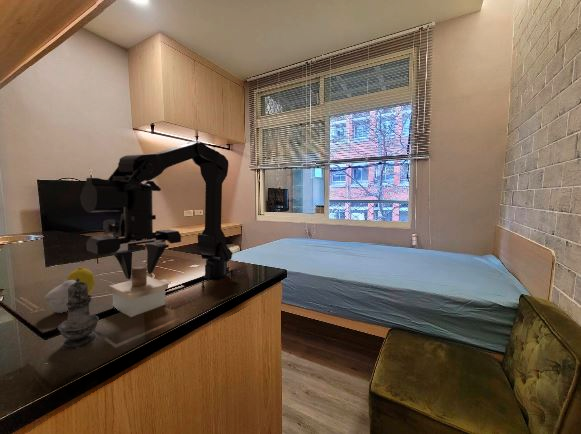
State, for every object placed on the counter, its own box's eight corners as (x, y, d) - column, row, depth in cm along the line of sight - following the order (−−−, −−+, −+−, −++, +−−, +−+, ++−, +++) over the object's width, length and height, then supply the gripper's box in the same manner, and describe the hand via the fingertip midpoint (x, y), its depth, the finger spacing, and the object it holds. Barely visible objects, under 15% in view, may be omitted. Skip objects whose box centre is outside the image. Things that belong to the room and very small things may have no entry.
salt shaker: (52, 353, 44) (49, 284, 43) (65, 335, 50) (63, 274, 48) (94, 346, 46) (92, 281, 45) (103, 330, 52) (101, 271, 51)
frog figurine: (89, 310, 60) (88, 280, 59) (48, 321, 54) (47, 289, 54) (81, 302, 64) (80, 275, 63) (42, 312, 58) (40, 282, 57)
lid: (147, 280, 68) (147, 261, 67) (168, 288, 63) (168, 267, 63) (109, 290, 60) (108, 268, 60) (129, 300, 56) (128, 276, 55)
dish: (147, 298, 68) (146, 281, 67) (165, 306, 63) (165, 288, 63) (112, 309, 61) (112, 290, 60) (130, 319, 57) (130, 299, 56)
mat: (164, 280, 81) (164, 279, 81) (184, 287, 76) (184, 286, 76) (130, 289, 73) (130, 288, 73) (151, 298, 67) (151, 296, 67)
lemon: (79, 303, 63) (78, 271, 62) (61, 300, 64) (60, 269, 63) (100, 295, 68) (99, 265, 68) (83, 292, 70) (82, 263, 69)
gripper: (157, 207, 72) (157, 262, 74) (74, 209, 56) (76, 279, 58) (182, 209, 66) (182, 269, 68) (97, 213, 50) (100, 290, 52)
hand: (139, 276), depth 61 cm, fingers open, 5 cm apart
